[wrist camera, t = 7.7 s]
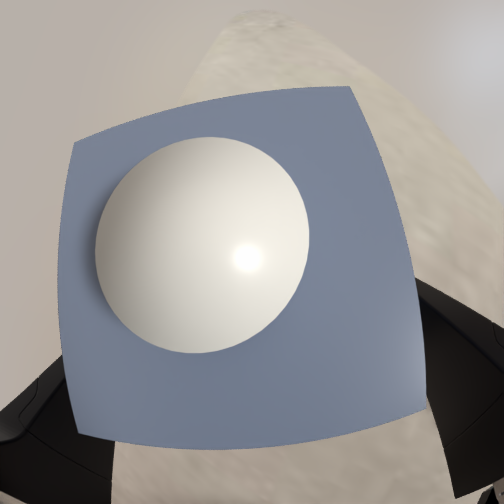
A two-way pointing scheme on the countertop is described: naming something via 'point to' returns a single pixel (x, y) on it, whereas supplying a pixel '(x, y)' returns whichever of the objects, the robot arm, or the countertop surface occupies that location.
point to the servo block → (237, 277)
